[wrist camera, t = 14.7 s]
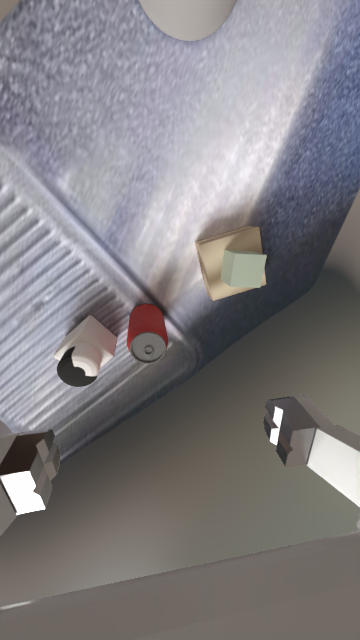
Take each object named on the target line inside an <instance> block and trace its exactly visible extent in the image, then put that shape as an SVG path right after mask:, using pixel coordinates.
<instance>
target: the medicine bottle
mask: <svg viewBox="0 0 360 640" xmlns="http://www.w3.org/2000/svg"><path fill="white" fill-rule="evenodd" d="M116 343H117V337H116V336H115V335H114V334H112V333H111V332H110V331H109V330H108V329H107V328H105V327H104V326H103V325H102V324H101V323H100V322H99V321H97V320H96V319H95V318H94V317H93V316H92V315H89V316H88V317H87V318H85V319H84V320H83V321H82V322H81V323H80V324H79V325H78V326H77V327H76V328H74V329H73V330H72V331H71V332H70V333H69V334H68V335H67V336H66V337H65V338H64V340H63V341H62V343H61V344H60V346H59V347H58V349H57V351H56V352H55V354H54V357H55V358H56V359H58V360H59V363H58V366H57V373H58V375H59V377H60V379H61V380H62V381H64V382H65V383H66V384H68V385H71V386H76V387H81V386H86V385H89V384H91V383H92V382H94V381H95V379H96V378H97V376H98V373H99V369H100V368H101V367H102V366H103V365H104V364H105V363H107V362H108V361H109V360H110V359H111V358H113V356H114V352H115V347H116Z"/></svg>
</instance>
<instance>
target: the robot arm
mask: <svg viewBox="0 0 360 640" xmlns="http://www.w3.org/2000/svg"><path fill="white" fill-rule="evenodd" d="M139 2H140V4H141V6H142V8H143V10H144V11H145V13H146V14H147V15H148V17H149V18H150V19H151V21H152V22H153V23H154V24H155V25H156V26H157V27H158V28H159V29H160V30H162V31H163V32H164V33H166V34H168V35H169V36H171V37H173V38H176V39H179V40H184V41H196V40H200V39H203V38H205V37H207V36H209V35H211V34H212V33H214V32H215V31H216V30H217V29H218V28H219V27H220V26H221V25H222V24H223V23H224V22H225V20H226V19H227V17H228V16H229V14H230V12H231V10H232V8H233V6H234V4H235V2H236V0H139ZM265 408H266V409H267V411H268V412H267V413H266V414H265V416H264V421H263V423H264V429H265V432H266V435H267V436H268V438H269V440H270V441H271V442H272V443H274V444H275V445H277V446H276V452H277V454H278V456H279V458H280V459H281V461H282V463H283V464H284V466H285V467H291V466H298V465H305V464H307V466H308V467H310V468H311V469H312V470H313V471H315V472H316V473H317V474H319V475H320V476H321V477H322V478H323V479H325V480H326V481H327V482H329V483H330V484H331V485H332V486H334V487H335V488H336V489H337V490H339V491H340V492H341V493H343V494H344V495H345V496H347V497H348V498H349V499H350V500H351V501H353V502H354V503H355V504H356V505H358V506H359V507H360V436H359V435H357V434H355V433H353V432H351V431H349V430H347V429H345V428H343V427H341V426H339V425H333V424H332V423H331V421H330V420H329V419H328V418H327V417H326V416H325V415H324V414H323V413H322V412H321V411H320V410H319V409H318V408H317V407H316V406H315V404H314V403H313V402H312V401H311V400H310V399H309V398H308V397H307V396H306V395H296V396H291V397H282V398H276V399H269V400H267V402H266V405H265ZM54 438H55V435H54V432H53V430H51V429H47V430H38V431H29V432H21V433H13V434H6V435H4V436H3V437H1V438H0V536H1V535H2V533H3V532H4V531H5V530H6V529H7V527H8V526H9V525H10V524H11V523H12V521H13V520H14V519H15V518H16V517H17V515H16V514H21V513H26V512H31V511H36V510H41V509H45V507H46V504H47V502H48V498H49V496H50V493H51V490H52V485H51V482H50V481H51V479H52V478H54V477H55V475H56V474H57V472H58V468H59V464H60V449H59V446H58V445H57V444H55V443H54V442H53V441H54ZM356 525H357V527H358V528H359V531H354V532H349V533H344V534H340V535H335V536H331V537H326V538H321V539H316V540H312V541H308V542H302V543H298V544H294V545H288V546H284V547H279V548H274V549H270V550H265V551H260V552H256V553H251V554H247V555H242V556H237V557H232V558H228V559H223V560H218V561H214V562H209V563H204V564H199V565H195V566H191V567H185V568H181V569H176V570H171V571H167V572H162V573H158V574H153V575H148V576H143V577H139V578H134V579H130V580H125V581H120V582H115V583H111V584H106V585H102V586H97V587H92V588H87V589H83V590H78V591H73V592H69V593H64V594H59V595H55V596H50V597H45V598H41V599H36V600H32V601H27V602H22V603H17V604H13V605H8V606H4V607H0V640H360V515H359V517H358V519H357V524H356Z"/></svg>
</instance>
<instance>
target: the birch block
mask: <svg viewBox="0 0 360 640" xmlns="http://www.w3.org/2000/svg"><path fill="white" fill-rule="evenodd" d="M195 245H196V249H197V254H198V258H199V262H200V266H201V271H202V275H203V279H204V284H205V288H206V292H207V294H208V295H209V296H210V298H211V299H212V300H213V301H214V300H218V299H221V298H224V297H227V296H230V295H234V294H237V293H240V292H243V291H247V290H250V289H253V288H251V287H229V286H228V285H227V284H226V283H224V282H223V281H222V280H221V279H220V278H221V271H222V263H223V255H224V250H244V251H255V252H258V253H261V254H262V246H261V237H260V229H259V227H253V226H246V227H243V228H240V229H236V230H233V231H230V232H226V233H223V234H220V235H217V236H213V237H210V238H207V239H203V240H200V241H197V242H195ZM263 285H266V279H265V271H264V272H263V277H262V282H261V286H263Z"/></svg>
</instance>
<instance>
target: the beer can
mask: <svg viewBox="0 0 360 640" xmlns="http://www.w3.org/2000/svg"><path fill="white" fill-rule="evenodd" d="M127 346H128V348H129V351H130V353H131V356H132V357H133V358H134V359H135V360H136V361H138V362H140V363H143V364H152V363H155V362H157V361H159V360H160V359H161V358H162V357H163V356H164V354H165V352H166V349H167V346H168V336H167V332H166V327H165V323H164V318H163V314H162V312H161V311H160V309H159V308H157V307H156V306H154V305H151V304H143V305H139V306H137V307H136V308H135V309H134V310H133V311H132V312H131V315H130V319H129V327H128V336H127Z"/></svg>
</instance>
